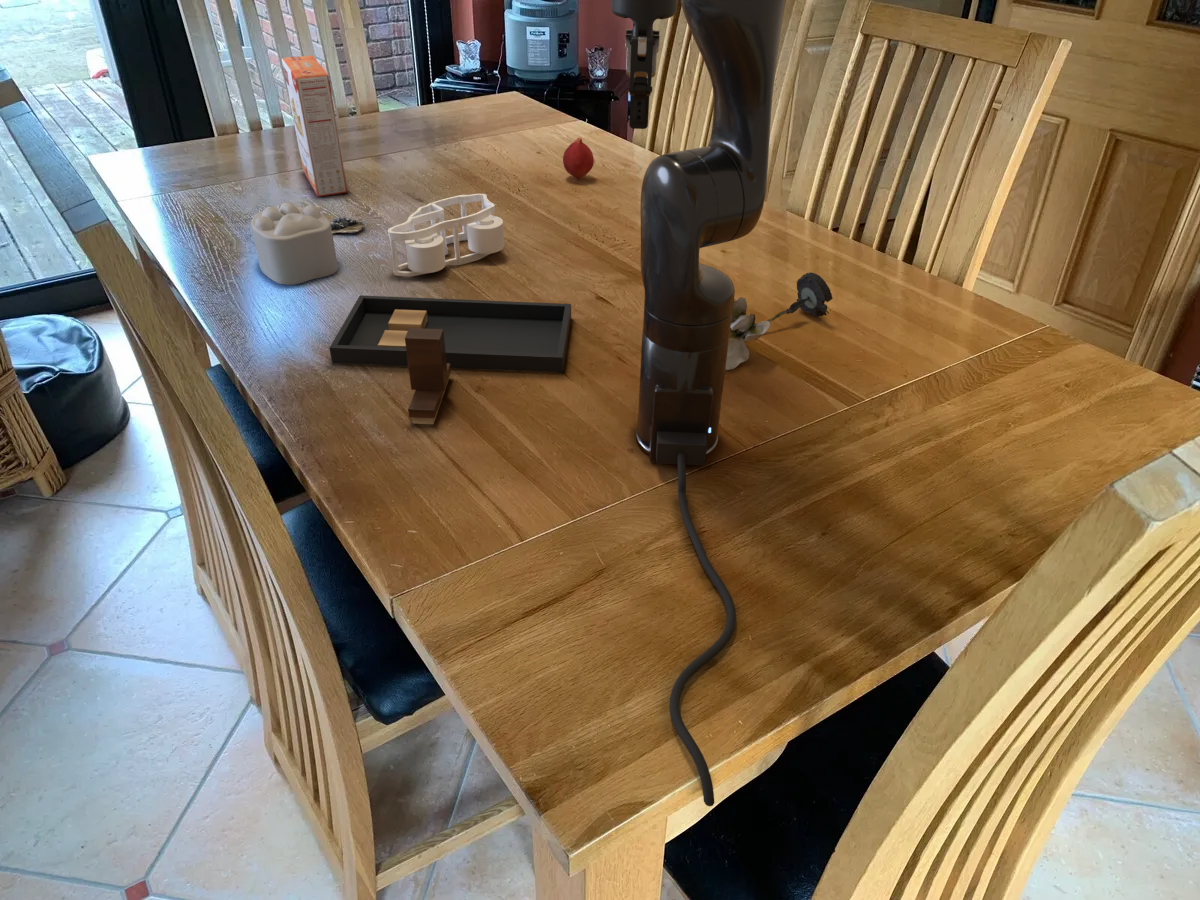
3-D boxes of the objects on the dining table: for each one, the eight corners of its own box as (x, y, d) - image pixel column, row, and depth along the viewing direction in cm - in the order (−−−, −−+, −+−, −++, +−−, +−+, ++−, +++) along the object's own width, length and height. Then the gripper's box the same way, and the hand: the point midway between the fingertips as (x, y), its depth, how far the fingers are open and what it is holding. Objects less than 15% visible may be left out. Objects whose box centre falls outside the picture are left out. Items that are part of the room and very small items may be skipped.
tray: (562, 376, 114) (562, 357, 112) (332, 366, 114) (329, 347, 113) (571, 321, 125) (571, 303, 124) (362, 313, 126) (359, 295, 124)
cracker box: (301, 173, 171) (280, 56, 158) (333, 169, 173) (314, 53, 160) (315, 198, 160) (293, 76, 148) (348, 193, 162) (330, 72, 150)
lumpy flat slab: (368, 234, 148) (366, 223, 147) (318, 240, 146) (317, 229, 145) (361, 219, 153) (359, 208, 152) (313, 225, 151) (311, 214, 150)
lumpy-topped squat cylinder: (281, 288, 132) (269, 233, 126) (247, 258, 140) (235, 205, 134) (346, 270, 137) (337, 216, 132) (310, 242, 145) (300, 190, 140)
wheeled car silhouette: (412, 289, 132) (407, 243, 128) (374, 264, 139) (368, 219, 134) (520, 254, 143) (518, 210, 139) (479, 232, 150) (477, 189, 145)
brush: (440, 429, 104) (432, 357, 98) (406, 428, 104) (396, 355, 98) (456, 381, 112) (449, 312, 106) (424, 380, 112) (416, 311, 106)
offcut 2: (421, 335, 120) (420, 324, 119) (389, 333, 120) (388, 323, 119) (427, 320, 123) (426, 310, 122) (396, 319, 124) (394, 309, 123)
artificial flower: (838, 333, 127) (860, 281, 119) (714, 395, 118) (729, 343, 110) (797, 295, 131) (815, 242, 123) (674, 351, 122) (686, 298, 114)
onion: (558, 182, 169) (558, 140, 165) (568, 172, 174) (568, 131, 169) (588, 186, 168) (588, 143, 163) (597, 176, 172) (597, 134, 168)
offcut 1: (412, 357, 116) (411, 346, 115) (379, 355, 116) (377, 344, 115) (419, 341, 119) (418, 331, 118) (386, 340, 119) (385, 329, 118)
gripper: (614, -43, 105) (610, 100, 115) (609, -23, 94) (605, 134, 103) (677, -41, 105) (668, 102, 115) (681, -20, 93) (670, 136, 103)
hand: (638, 117), depth 109 cm, fingers open, 8 cm apart
